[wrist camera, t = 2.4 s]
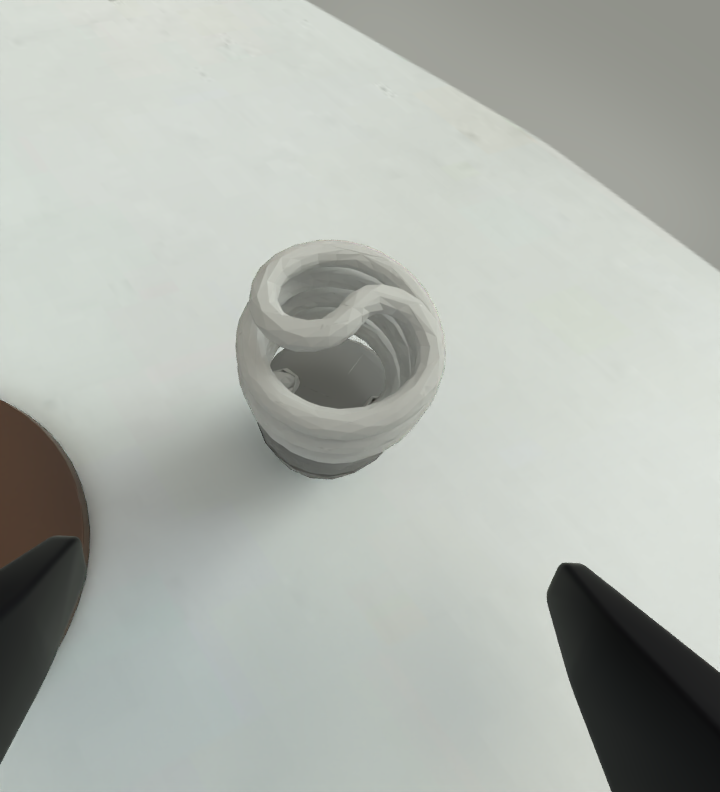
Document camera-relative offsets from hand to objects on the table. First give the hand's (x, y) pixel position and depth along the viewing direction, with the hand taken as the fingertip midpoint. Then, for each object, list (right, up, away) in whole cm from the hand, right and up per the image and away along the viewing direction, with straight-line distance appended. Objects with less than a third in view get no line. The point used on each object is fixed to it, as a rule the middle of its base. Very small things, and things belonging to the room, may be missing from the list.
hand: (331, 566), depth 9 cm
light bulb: (-1, +1, +13) cm, 13 cm away
